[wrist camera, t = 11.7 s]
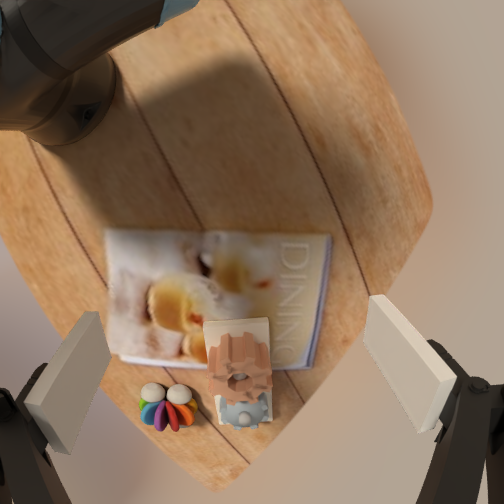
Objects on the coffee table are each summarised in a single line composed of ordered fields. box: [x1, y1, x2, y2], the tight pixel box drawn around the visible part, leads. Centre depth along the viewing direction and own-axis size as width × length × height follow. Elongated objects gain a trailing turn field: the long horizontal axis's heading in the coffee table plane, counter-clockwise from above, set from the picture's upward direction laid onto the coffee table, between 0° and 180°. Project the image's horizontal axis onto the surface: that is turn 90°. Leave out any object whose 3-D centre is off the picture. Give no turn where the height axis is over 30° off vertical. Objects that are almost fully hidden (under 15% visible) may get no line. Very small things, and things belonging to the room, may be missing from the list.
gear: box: [206, 331, 273, 406], centre depth 42 cm, size 8×8×6 cm
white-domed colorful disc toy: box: [139, 383, 198, 432], centre depth 45 cm, size 8×10×7 cm
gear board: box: [203, 317, 273, 430], centre depth 45 cm, size 9×20×6 cm, turn 3°
